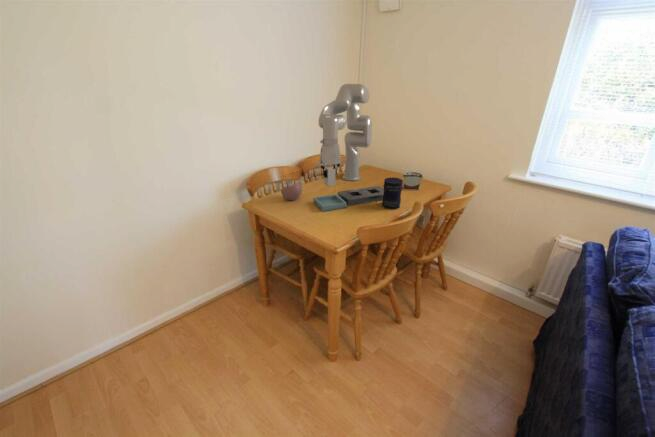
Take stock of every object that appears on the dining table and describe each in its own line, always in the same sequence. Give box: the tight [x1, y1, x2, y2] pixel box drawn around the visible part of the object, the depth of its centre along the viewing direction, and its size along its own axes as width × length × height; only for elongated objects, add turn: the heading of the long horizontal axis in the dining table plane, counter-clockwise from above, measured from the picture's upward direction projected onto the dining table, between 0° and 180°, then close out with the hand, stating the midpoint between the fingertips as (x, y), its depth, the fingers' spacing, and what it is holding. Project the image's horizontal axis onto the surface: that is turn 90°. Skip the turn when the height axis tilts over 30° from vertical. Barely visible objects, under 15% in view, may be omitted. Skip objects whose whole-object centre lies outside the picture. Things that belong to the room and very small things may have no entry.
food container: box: [402, 171, 424, 191], centre depth 193 cm, size 12×6×10 cm, turn 84°
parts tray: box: [313, 193, 348, 213], centre depth 168 cm, size 14×14×3 cm
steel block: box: [323, 166, 337, 187], centre depth 162 cm, size 4×4×9 cm
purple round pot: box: [280, 179, 303, 201], centre depth 174 cm, size 12×12×12 cm
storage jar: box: [381, 177, 404, 210], centre depth 165 cm, size 10×10×15 cm
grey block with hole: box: [337, 185, 384, 207], centre depth 178 cm, size 14×28×4 cm, turn 113°
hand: (329, 176), depth 162 cm, fingers closed on steel block, 4 cm apart
